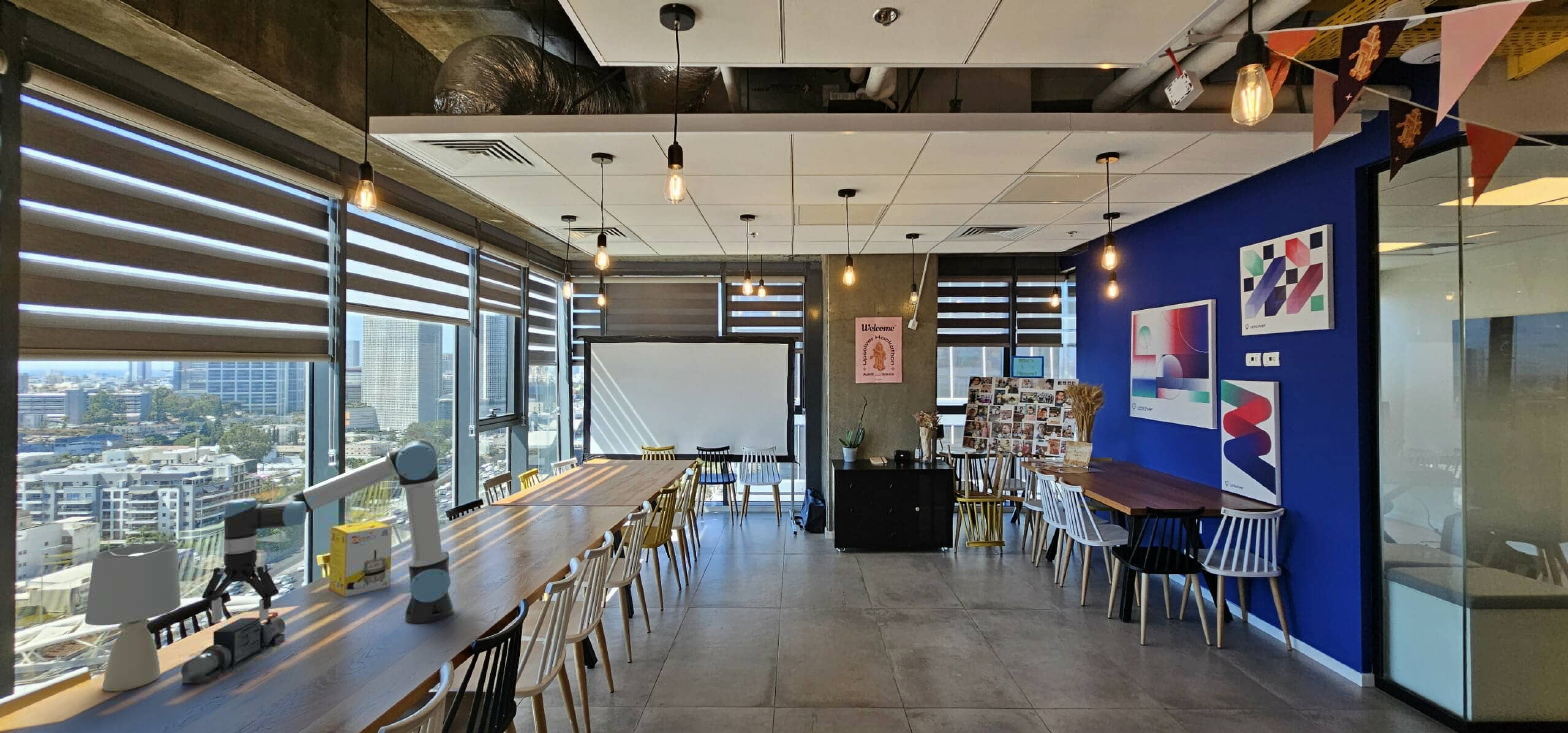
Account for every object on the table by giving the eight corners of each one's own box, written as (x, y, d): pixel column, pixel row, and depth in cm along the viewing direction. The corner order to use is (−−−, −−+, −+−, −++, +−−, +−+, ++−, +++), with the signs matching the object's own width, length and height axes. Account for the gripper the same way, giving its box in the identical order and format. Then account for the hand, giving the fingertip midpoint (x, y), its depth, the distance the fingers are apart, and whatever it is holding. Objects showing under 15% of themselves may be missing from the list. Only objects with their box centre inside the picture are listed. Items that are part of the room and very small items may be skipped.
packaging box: (373, 578, 265) (375, 520, 266) (390, 586, 256) (391, 525, 256) (328, 588, 252) (330, 527, 253) (344, 597, 242) (346, 533, 243)
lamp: (135, 666, 184) (140, 541, 184) (196, 668, 183) (200, 542, 184) (60, 698, 165) (65, 559, 166) (127, 700, 164) (132, 560, 165)
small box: (239, 651, 193) (240, 617, 193) (261, 650, 194) (262, 616, 194) (210, 666, 183) (212, 630, 183) (234, 666, 183) (235, 630, 183)
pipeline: (257, 639, 203) (258, 611, 203) (292, 638, 204) (293, 611, 204) (171, 685, 172) (172, 653, 173) (213, 685, 173) (214, 652, 173)
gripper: (292, 546, 194) (292, 614, 193) (207, 548, 192) (207, 616, 192) (274, 553, 186) (274, 623, 186) (186, 555, 184) (185, 626, 184)
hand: (240, 620), depth 189 cm, fingers open, 13 cm apart
